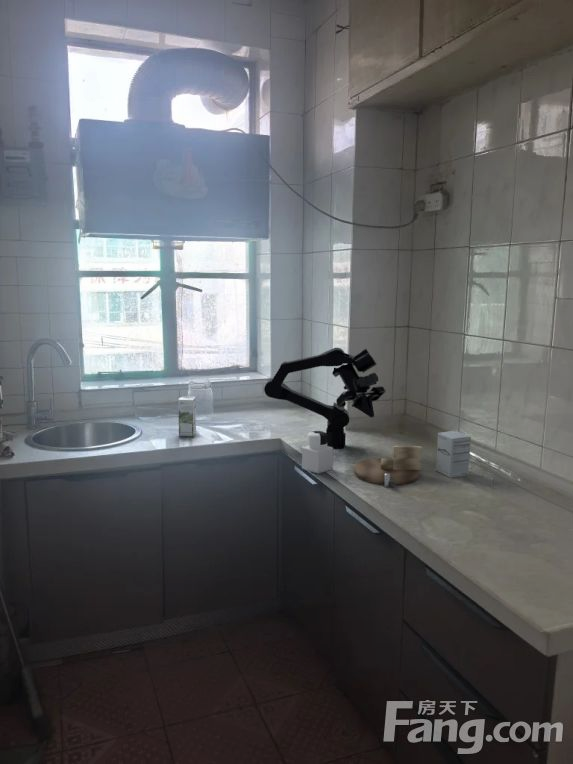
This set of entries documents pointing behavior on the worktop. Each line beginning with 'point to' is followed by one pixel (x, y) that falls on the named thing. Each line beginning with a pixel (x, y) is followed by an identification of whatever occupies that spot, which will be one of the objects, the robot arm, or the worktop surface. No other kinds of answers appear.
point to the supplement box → (453, 453)
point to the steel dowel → (387, 480)
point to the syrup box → (187, 416)
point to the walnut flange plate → (379, 475)
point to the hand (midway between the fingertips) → (372, 416)
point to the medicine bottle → (317, 453)
